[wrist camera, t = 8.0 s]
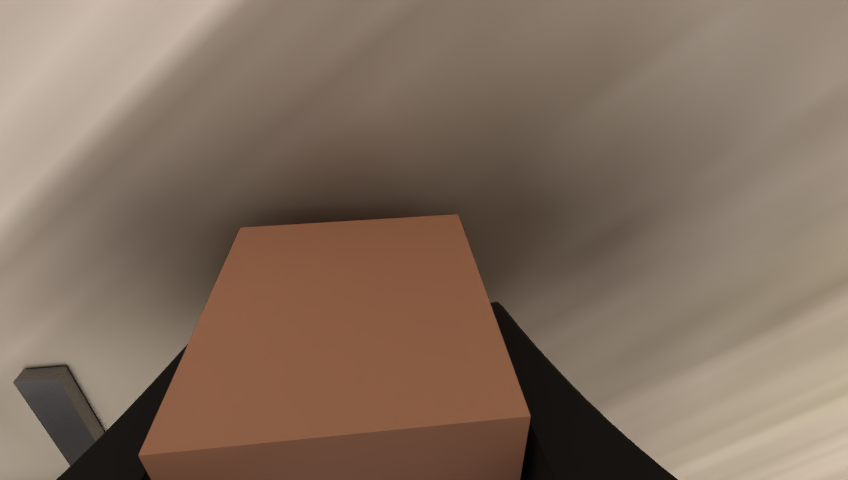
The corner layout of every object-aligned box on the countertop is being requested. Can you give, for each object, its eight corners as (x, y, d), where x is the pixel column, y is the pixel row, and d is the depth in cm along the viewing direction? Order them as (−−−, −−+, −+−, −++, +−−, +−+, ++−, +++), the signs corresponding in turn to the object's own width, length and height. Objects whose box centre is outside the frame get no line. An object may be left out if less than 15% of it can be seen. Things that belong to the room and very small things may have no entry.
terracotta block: (453, 364, 12) (502, 588, 8) (278, 380, 12) (230, 624, 7) (458, 214, 10) (530, 416, 6) (240, 227, 9) (138, 455, 5)
